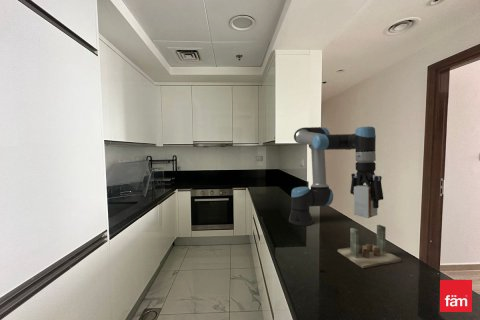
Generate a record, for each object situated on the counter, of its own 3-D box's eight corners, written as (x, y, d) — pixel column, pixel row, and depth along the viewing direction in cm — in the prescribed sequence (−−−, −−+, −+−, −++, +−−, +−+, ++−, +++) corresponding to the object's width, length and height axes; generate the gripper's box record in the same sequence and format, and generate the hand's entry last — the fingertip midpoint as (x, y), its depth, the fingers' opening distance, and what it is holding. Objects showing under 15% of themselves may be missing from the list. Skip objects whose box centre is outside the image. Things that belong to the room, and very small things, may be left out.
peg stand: (337, 251, 92) (337, 224, 91) (372, 246, 96) (372, 220, 96) (362, 268, 78) (362, 236, 78) (401, 261, 83) (401, 231, 82)
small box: (368, 218, 82) (368, 188, 82) (353, 215, 87) (353, 186, 87) (377, 215, 86) (377, 186, 86) (362, 212, 92) (362, 184, 91)
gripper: (341, 161, 96) (341, 207, 96) (379, 162, 76) (379, 220, 76) (354, 161, 97) (354, 206, 98) (395, 162, 77) (395, 218, 78)
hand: (365, 212), depth 87 cm, fingers closed on small box, 8 cm apart
